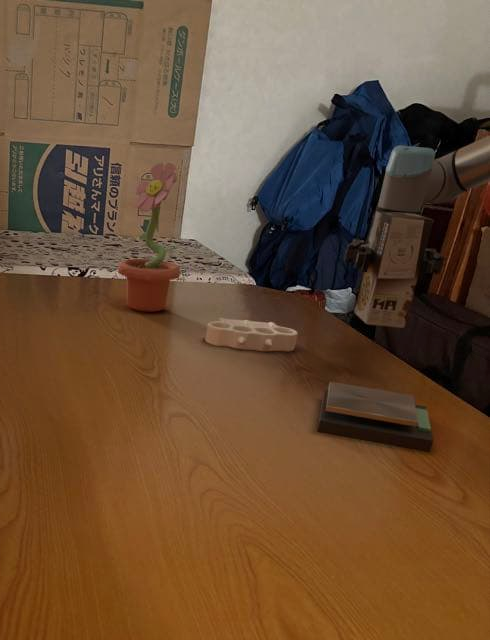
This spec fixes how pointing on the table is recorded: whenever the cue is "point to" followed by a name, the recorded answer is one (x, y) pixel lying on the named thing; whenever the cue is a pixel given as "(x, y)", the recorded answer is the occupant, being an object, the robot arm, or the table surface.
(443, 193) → the robot arm
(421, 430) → the scale
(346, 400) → the scale pan
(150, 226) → the decorative flower
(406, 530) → the table surface
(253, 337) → the knuckle duster
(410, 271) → the coffee box
